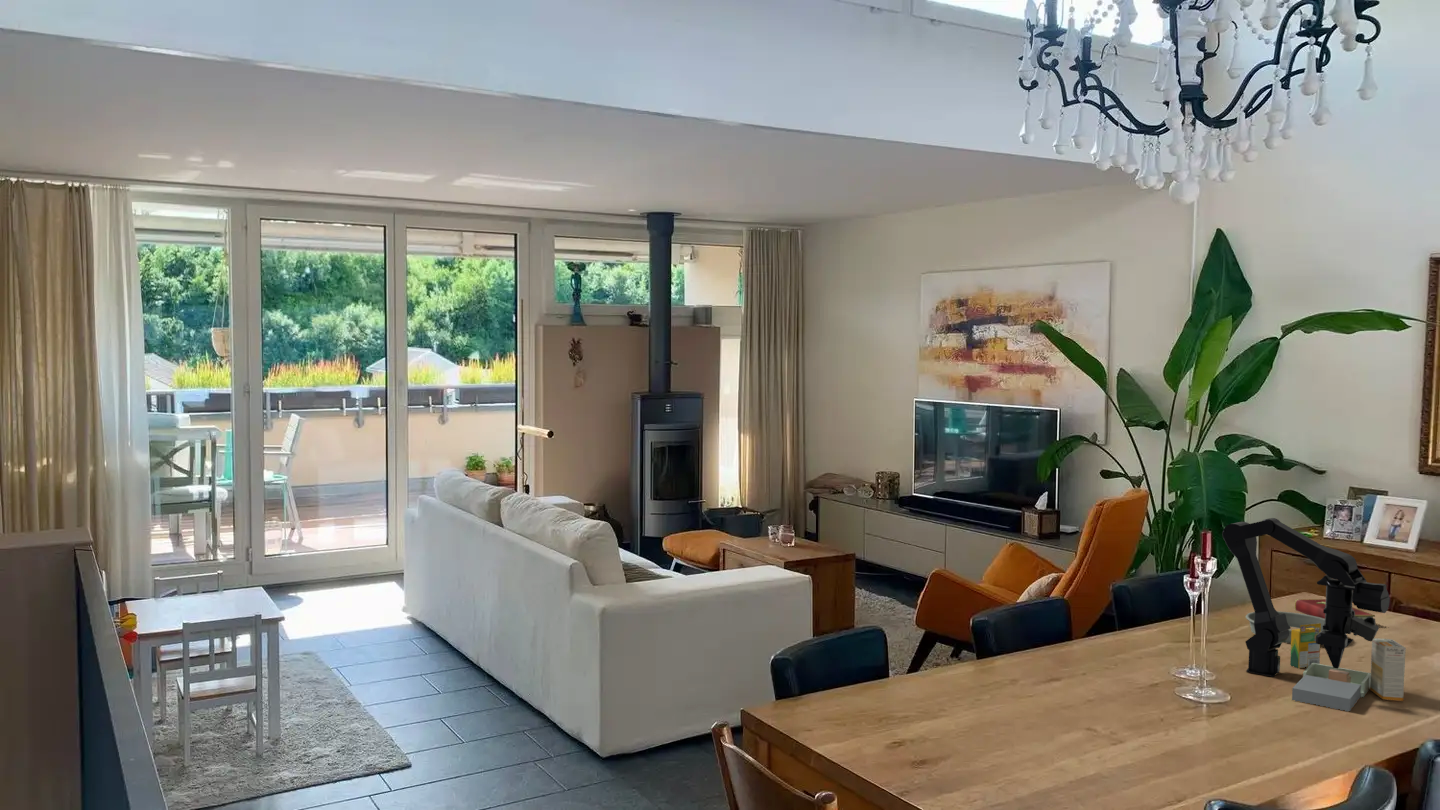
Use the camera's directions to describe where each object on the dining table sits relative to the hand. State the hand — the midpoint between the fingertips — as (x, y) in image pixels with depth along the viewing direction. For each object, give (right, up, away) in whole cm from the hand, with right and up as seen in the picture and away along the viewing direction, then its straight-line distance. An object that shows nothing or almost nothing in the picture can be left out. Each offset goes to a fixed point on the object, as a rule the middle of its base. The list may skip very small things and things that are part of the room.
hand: (1336, 667), depth 267 cm
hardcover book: (+41, -3, +73) cm, 83 cm away
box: (+1, -5, +2) cm, 6 cm away
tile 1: (0, -3, 0) cm, 3 cm away
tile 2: (+3, -3, +3) cm, 5 cm away
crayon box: (+3, -5, +20) cm, 21 cm away
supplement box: (+10, -6, -4) cm, 12 cm away
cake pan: (+16, -3, +52) cm, 54 cm away
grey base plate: (-6, -6, -7) cm, 11 cm away
